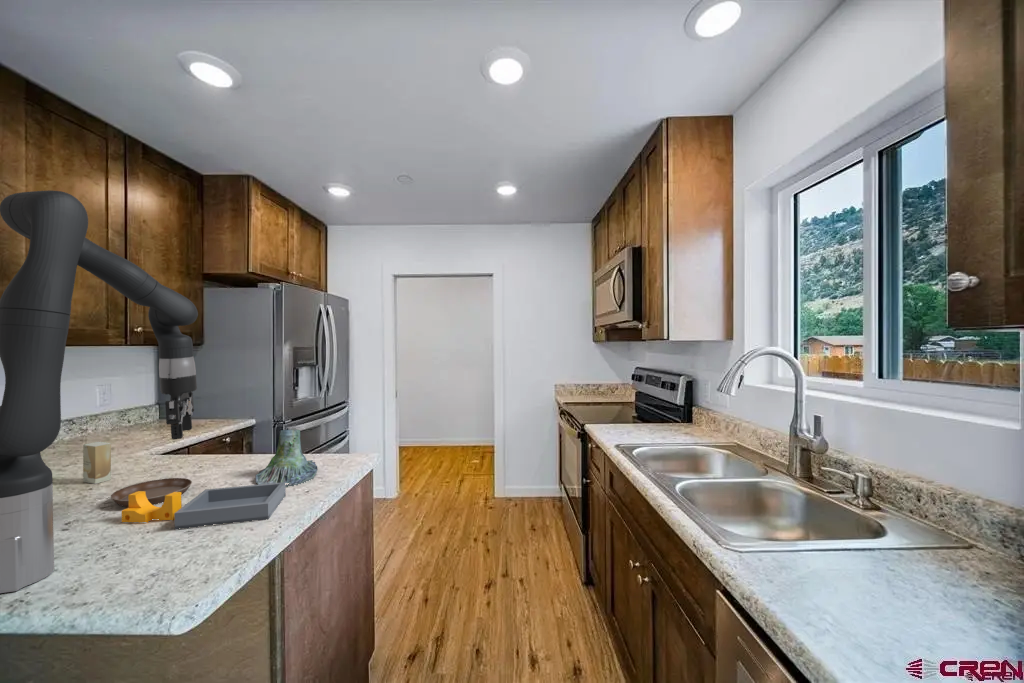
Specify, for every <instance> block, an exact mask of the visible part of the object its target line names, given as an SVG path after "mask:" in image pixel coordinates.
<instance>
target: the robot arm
mask: <svg viewBox="0 0 1024 683" xmlns="http://www.w3.org/2000/svg"><path fill="white" fill-rule="evenodd" d="M0 217H1V218H2V220H3V221H4V223H5V224H6V225H7V226H8V227H9V228H10V229H12V230H13V231H14V232H16V233H18V234H19V235H21V236H23V238H27V239H28V240H30V241H29V248H28V251H27V256H26V259H25V260H24V261H23V264H22V265H21V266H20V268H19V270H18V271H17V272H16V274H15V275H14V276H13V278H12V279H11V280H10V281H9V283H8V285H7V286H6V288H5V289H4V291H3V293H2V294H1V296H0V361H1V364H2V367H3V371H4V379H5V380H4V382H5V383H4V384H5V385H4V391H3V396H2V400H1V405H0V594H3V593H11V592H17V591H20V590H21V589H22V588H25V587H27V586H29V585H31V584H32V585H33V584H35V583H37V582H39V581H42V580H43V579H45V578H47V577H48V576H50V575H51V574H52V573H53V572H54V570H55V545H54V544H55V542H54V540H55V538H54V537H55V536H54V493H53V492H54V489H53V471H52V470H51V468H49V466H48V465H47V464H46V463H45V462H44V461H43V460H44V459H43V458H42V455H41V454H42V453H41V452H43V451H45V450H46V449H48V448H49V447H50V446H51V445H52V444H53V443H54V442H55V441H56V439H57V437H58V435H59V434H60V431H61V427H62V426H61V424H62V422H61V421H62V410H61V409H62V408H61V407H62V406H61V404H62V403H61V402H62V400H61V382H62V374H63V373H62V372H63V368H64V360H65V353H66V345H67V339H68V336H69V335H68V334H69V328H70V321H71V314H72V313H71V310H72V301H73V300H72V299H73V293H74V289H75V288H74V287H75V282H76V274H77V267H78V266H79V267H80V268H81V269H84V271H85V270H86V271H87V272H88V273H91V274H92V275H93V276H95V277H96V278H98V279H99V280H101V281H103V282H104V283H106V284H107V285H109V286H110V287H112V288H113V289H114V290H115V291H117V292H118V293H120V294H122V295H123V296H124V297H126V298H127V299H129V300H130V301H132V302H133V303H135V304H136V305H139V306H141V307H142V306H143V307H147V308H148V320H149V324H150V325H151V329H152V332H153V334H154V336H155V338H156V341H157V343H158V358H159V361H158V373H159V387H160V393H161V394H162V395H169V396H170V400H165V401H164V404H165V419H166V421H165V423H166V425H167V426H170V433H171V434H170V435H171V440H180V439H182V438H183V436H184V432H185V431H190V430H192V429H193V422H192V416H193V413H194V412H195V406H194V405H195V404H194V393H193V392H195V391H197V389H198V387H197V386H198V384H197V371H196V362H195V358H194V357H195V356H194V346H193V345H194V344H193V339H192V337H191V336H190V335H186V334H184V333H182V332H181V330H180V327H179V326H182V327H184V326H189V325H193V323H195V322H196V321H197V319H198V316H199V312H198V309H197V306H196V305H195V304H194V302H193V301H191V300H190V299H189V298H188V297H186V296H184V294H183V295H182V294H181V293H179V292H177V291H175V290H173V289H171V288H170V287H168V286H165V285H163V284H162V283H160V282H159V281H158V280H157V279H155V278H154V277H153V276H152V275H150V274H149V273H148V272H146V270H144V269H142V267H140V266H138V265H137V264H135V263H134V262H132V261H130V260H128V259H126V258H124V257H123V256H120V255H118V254H116V253H114V252H112V251H110V250H107V249H106V248H104V247H102V246H100V245H99V244H97V243H95V242H93V241H91V240H90V239H88V238H87V236H86V235H87V233H88V232H87V231H88V229H89V215H88V212H87V210H86V208H85V206H84V204H83V203H82V202H81V201H80V200H79V199H78V198H77V197H76V196H74V195H72V194H71V193H68V192H65V191H59V190H48V189H47V190H37V191H36V190H35V191H34V190H33V191H23V192H16V193H13V194H9V195H7V196H6V197H4V198H3V199H1V203H0Z"/></svg>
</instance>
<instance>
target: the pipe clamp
mask: <svg viewBox="0 0 1024 683" xmlns="http://www.w3.org/2000/svg"><path fill="white" fill-rule="evenodd" d="M128 500H129V507H126V508H124V509H122V510H121V523H122V522H147V523H149V522H148V521H150V520H152V519H159V520H158V521H162V520H173V521H175V520H174V519H175V515H174V513H175V512H177V511H178V510H179V509H181V508H182V507H183V506H182V495H181V492H173V493H171V494H168V495H166V496H165V500H164V502H163V504H161V506H156V505H152V504H151V503H150V502H149V501H148V499H147V497H146V493H145V491H138V492H135V493H132V494H130V495H128ZM152 521H153V520H152ZM150 522H151V521H150Z"/></svg>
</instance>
